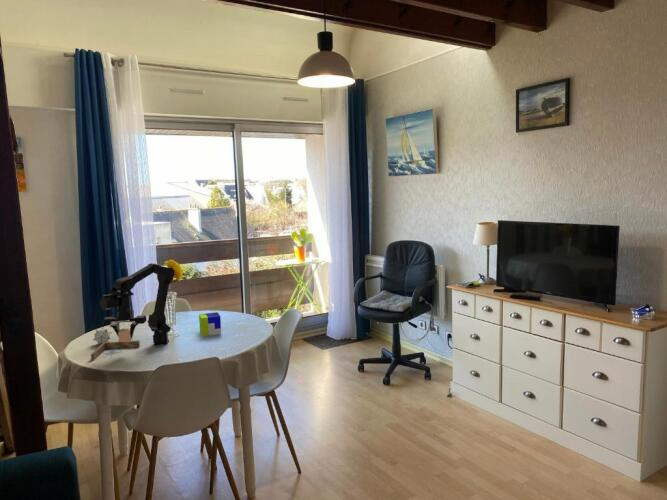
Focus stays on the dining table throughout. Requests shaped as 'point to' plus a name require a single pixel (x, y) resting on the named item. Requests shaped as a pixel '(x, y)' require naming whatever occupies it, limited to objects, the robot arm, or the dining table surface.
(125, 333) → the cube
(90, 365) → the dining table surface
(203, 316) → the puzzle toy
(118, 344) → the arena
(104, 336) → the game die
